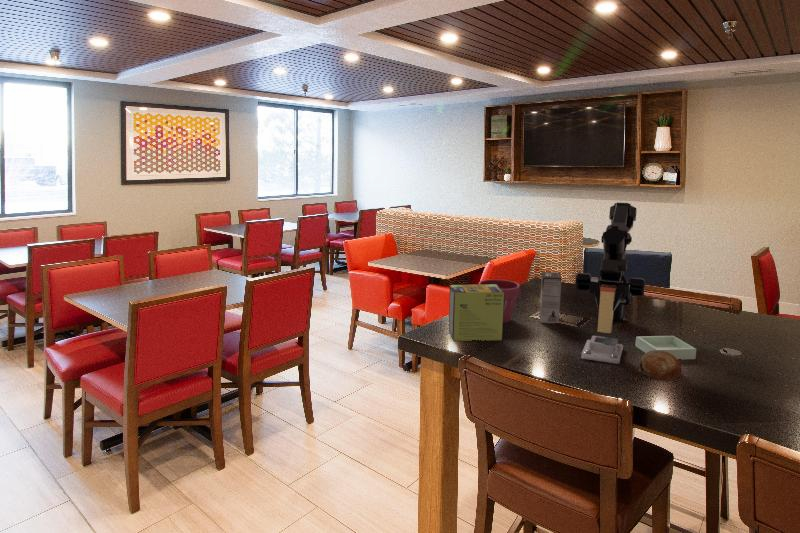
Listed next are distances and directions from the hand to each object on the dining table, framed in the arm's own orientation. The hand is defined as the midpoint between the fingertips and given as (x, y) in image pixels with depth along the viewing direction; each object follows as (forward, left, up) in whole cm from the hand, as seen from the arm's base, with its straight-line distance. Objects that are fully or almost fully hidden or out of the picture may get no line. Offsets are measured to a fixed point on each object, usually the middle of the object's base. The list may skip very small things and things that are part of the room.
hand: (606, 309), depth 156 cm
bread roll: (-3, +17, -14) cm, 22 cm away
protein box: (+24, -30, -14) cm, 41 cm away
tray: (-17, +7, -13) cm, 23 cm away
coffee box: (-9, -33, -14) cm, 37 cm away
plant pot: (+7, -41, -14) cm, 44 cm away
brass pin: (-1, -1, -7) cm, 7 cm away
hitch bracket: (0, 0, -13) cm, 13 cm away
